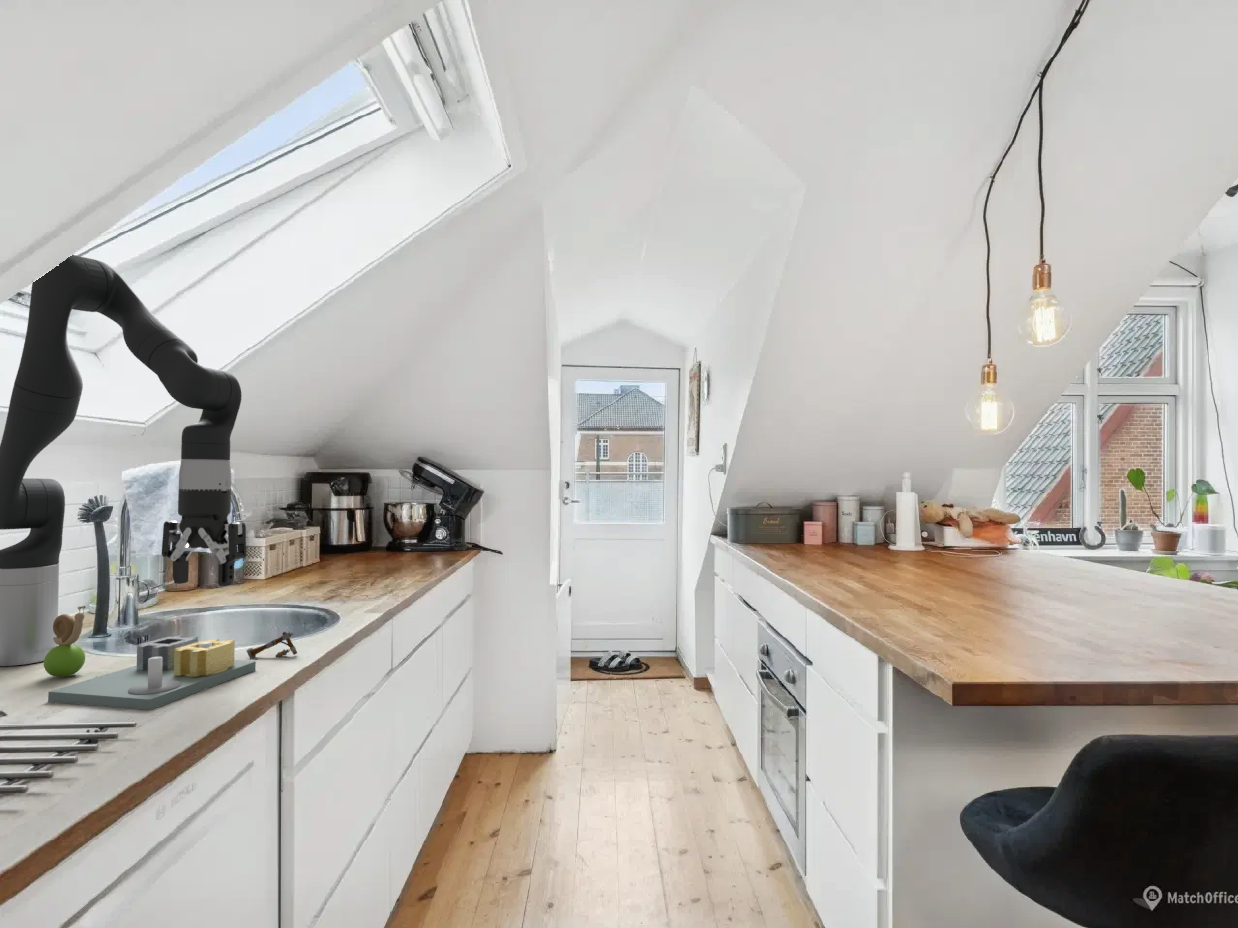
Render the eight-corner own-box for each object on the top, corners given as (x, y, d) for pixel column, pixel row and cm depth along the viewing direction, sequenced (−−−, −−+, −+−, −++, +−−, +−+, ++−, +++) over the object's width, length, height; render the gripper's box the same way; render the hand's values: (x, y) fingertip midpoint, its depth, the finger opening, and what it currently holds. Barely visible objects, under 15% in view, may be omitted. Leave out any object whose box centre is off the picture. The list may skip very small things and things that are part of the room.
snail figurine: (64, 682, 111) (66, 608, 111) (34, 680, 112) (36, 607, 113) (97, 673, 116) (98, 603, 116) (68, 671, 118) (69, 601, 118)
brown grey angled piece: (300, 652, 127) (289, 629, 127) (256, 672, 126) (245, 649, 126) (303, 649, 129) (292, 627, 129) (260, 669, 128) (249, 647, 128)
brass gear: (169, 675, 109) (169, 650, 109) (208, 662, 117) (208, 638, 117) (201, 677, 108) (201, 651, 108) (238, 663, 116) (239, 640, 116)
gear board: (48, 701, 101) (49, 661, 102) (167, 664, 122) (168, 630, 122) (149, 709, 98) (150, 667, 98) (255, 670, 118) (255, 635, 119)
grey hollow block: (132, 670, 113) (132, 645, 113) (172, 657, 121) (173, 635, 121) (162, 672, 112) (163, 647, 112) (201, 659, 119) (202, 636, 120)
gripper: (149, 486, 111) (147, 586, 111) (224, 487, 109) (222, 589, 108) (187, 486, 119) (185, 579, 118) (258, 487, 116) (256, 582, 116)
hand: (203, 584), depth 113 cm, fingers open, 8 cm apart
